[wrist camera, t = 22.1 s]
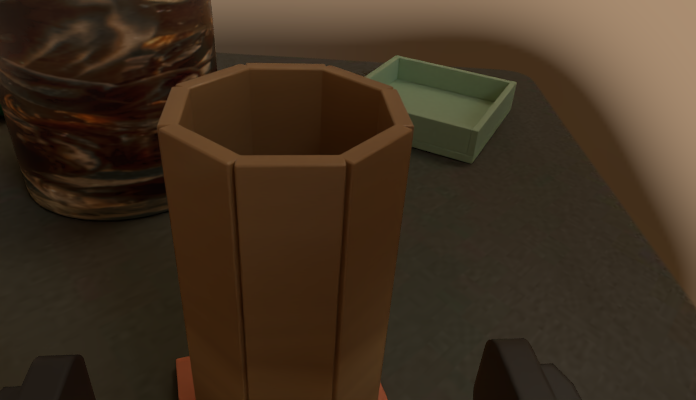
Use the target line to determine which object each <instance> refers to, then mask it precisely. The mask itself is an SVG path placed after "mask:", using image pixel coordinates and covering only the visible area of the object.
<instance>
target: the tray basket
mask: <svg viewBox="0 0 696 400" xmlns="http://www.w3.org/2000/svg"><path fill="white" fill-rule="evenodd" d="M365 77H366V78H369V79H372V80H375V81H378V82H381V83H383V84H386V85H389V86H392V87H393V89H396V90H397V91H398V93H399V95H400V97H401V99H402V101H403V104H404V106H405V108H406V110H407V112H408V114H409V117H410V119H411V121H412V123H413V125H414V133H413V140H412V147H414V148H418V149H421V150H425V151H428V152H432V153H435V154H439V155H442V156H446V157H449V158H453V159H456V160H460V161H463V162H467V163H470V164H472V163H473V162H474V160H475V159H476V157H477V156H478V155H479V153H480V152H481V150H482V149H483V148H484V146H485V145H486V144H487V142H488V141H489V139H490V138H491V137H492V135H493V134H494V132H495V131H496V130H497V128H498V127H499V125H500V124H501V123H502V121H503V120H504V119H505V117H506V116H507V114H508V113H509V112H510V110H511V104H512V101H513V97H514V93H515V88H516V84H517V82H513V81H508V80H504V79H500V78H495V77H491V76H486V75H482V74H477V73H473V72H469V71H464V70H460V69H455V68H451V67H446V66H442V65H437V64H433V63H429V62H424V61H419V60H415V59H410V58H406V57H401V56H398V55H396V56H395V57H393V58H392V59H390V60H389V61H387V62H386V63H384V64H383V65H381V66H380V67H378V68H377V69H376V70H374V71H373V72H371V73H370V74H368V75H367V76H365Z"/></svg>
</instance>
